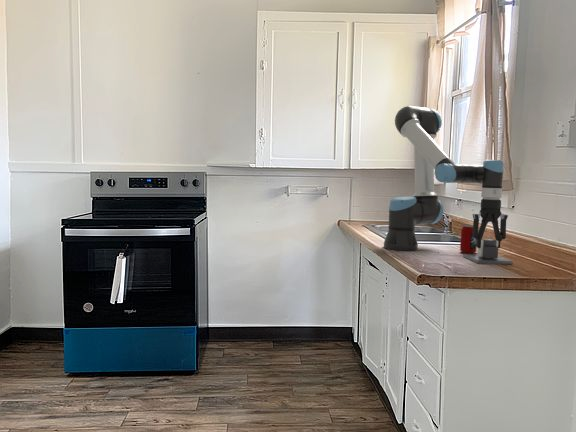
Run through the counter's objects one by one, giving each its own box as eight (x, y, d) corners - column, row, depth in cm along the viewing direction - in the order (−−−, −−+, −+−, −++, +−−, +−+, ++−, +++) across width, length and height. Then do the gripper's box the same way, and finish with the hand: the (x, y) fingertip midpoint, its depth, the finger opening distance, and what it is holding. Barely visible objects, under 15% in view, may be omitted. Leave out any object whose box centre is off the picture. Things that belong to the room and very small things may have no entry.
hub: (463, 257, 210) (463, 245, 209) (495, 257, 210) (496, 245, 210) (477, 263, 196) (478, 250, 195) (512, 264, 196) (513, 251, 196)
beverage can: (476, 254, 218) (478, 226, 217) (459, 253, 220) (461, 225, 219) (475, 252, 224) (477, 225, 223) (459, 250, 226) (461, 224, 225)
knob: (478, 255, 205) (479, 238, 204) (491, 256, 205) (492, 238, 205) (484, 258, 200) (485, 239, 199) (497, 258, 200) (498, 240, 199)
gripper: (472, 198, 197) (469, 257, 199) (518, 199, 197) (514, 258, 200) (464, 197, 204) (461, 254, 206) (509, 198, 205) (505, 255, 207)
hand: (487, 256), depth 203 cm, fingers closed on knob, 5 cm apart
